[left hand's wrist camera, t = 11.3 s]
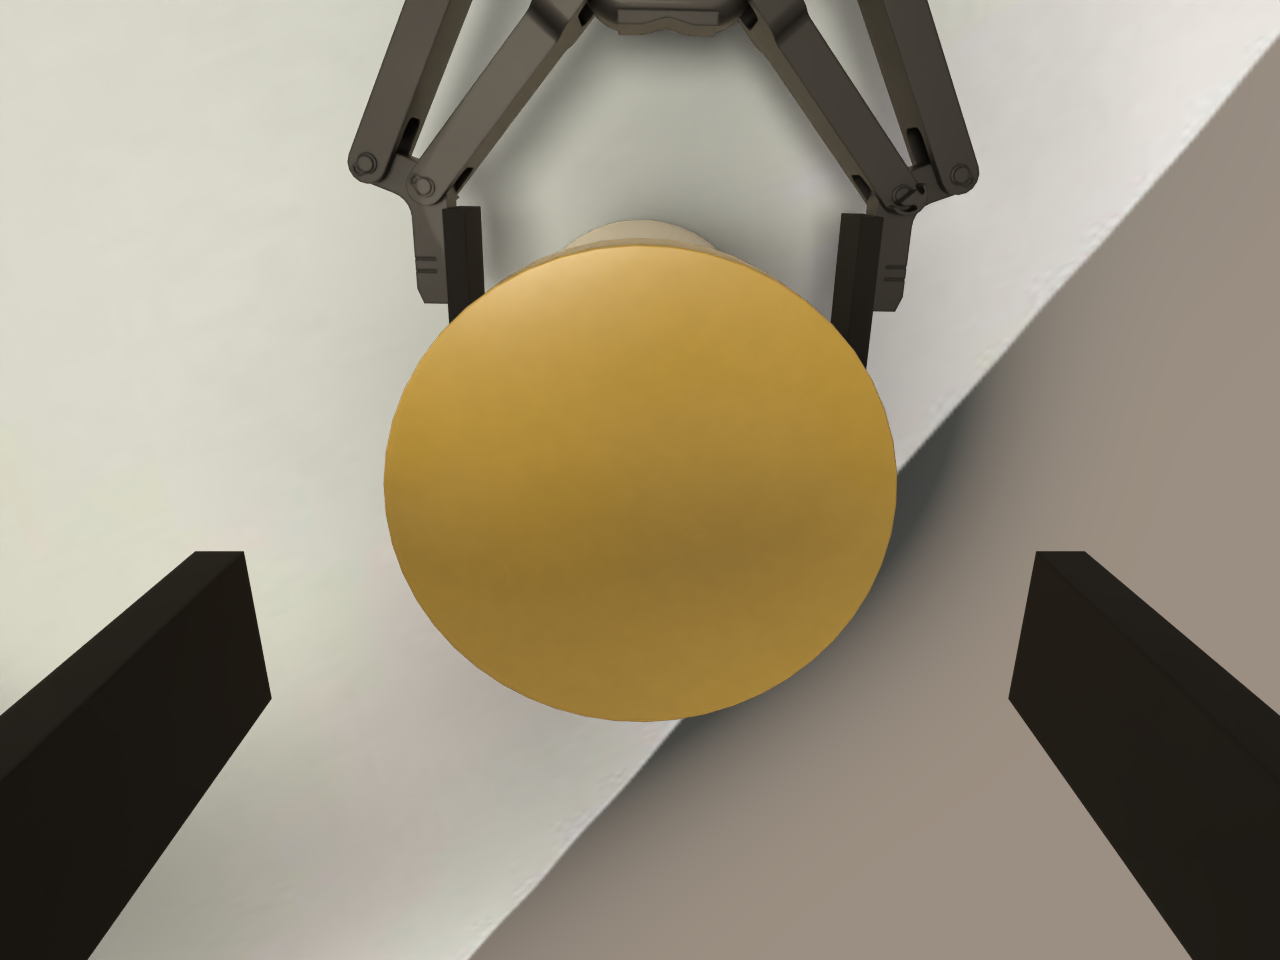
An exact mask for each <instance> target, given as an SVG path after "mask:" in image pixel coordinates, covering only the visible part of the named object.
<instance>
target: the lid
mask: <svg viewBox="0 0 1280 960" xmlns="http://www.w3.org/2000/svg"><path fill="white" fill-rule="evenodd" d="M896 490H897V469H896V460H895V452H894V443H893V438H892V435H891V431H890V427H889V423H888V420H887V416H886V412H885V409H884V407H883V404H882V402H881V400H880V397H879V395H878V393H877V390H876V388H875V386H874V383H873V381H872V379H871V377H870V376H869V374H868V372H867V371H866V369H865V367H864V366H863V364H862V363H861V361H860V359H859V358H858V356H857V354H856V353H855V351H854V350H853V349H852V347H851V346H850V345H849V344H848V343H847V341H846V340H845V339H844V338H843V337H842V335H841V334H840V333H839V332H838V330H837V329H836V328H835V327H834V326H833V324H831V323H830V322H829V321H828V320H827V319H826V318H825V317H824V316H823V315H822V314H820V313H819V312H818V311H817V310H816V309H815V308H814V307H813V306H812V305H811V304H809V303H808V302H807V301H806V300H805V299H803V298H802V297H801V296H799V295H798V294H797V293H795V292H794V291H793V290H791V289H790V288H789V287H787V286H786V285H784V284H783V283H781V282H780V281H778V280H777V279H775V278H774V277H772V276H771V275H769V274H768V273H766V272H765V271H763V270H761V269H759V268H757V267H755V266H753V265H751V264H749V263H747V262H745V261H743V260H741V259H739V258H737V257H735V256H733V255H730V254H727V253H724V252H721V251H718V250H715V249H712V248H709V247H705V246H702V245H697V244H692V243H687V242H681V241H676V240H670V239H654V238H625V239H614V240H603V241H598V242H593V243H589V244H585V245H580V246H576V247H572V248H568V249H565V250H563V251H560V252H557V253H555V254H552V255H549V256H547V257H544V258H541V259H539V260H537V261H535V262H533V263H531V264H529V265H527V266H526V267H524V268H522V269H520V270H518V271H516V272H515V273H513V274H511V275H509V276H508V277H506V278H505V279H504V280H502V281H501V282H500V283H498V284H497V285H496V286H494V287H493V288H492V289H490V290H489V291H488V292H486V293H485V294H484V295H482V296H481V297H480V298H478V299H477V300H476V301H474V302H473V303H472V304H470V305H469V306H468V307H466V308H465V309H464V310H463V311H462V312H461V313H460V314H459V315H458V316H457V317H456V318H455V319H454V320H453V321H452V322H451V323H450V324H449V325H448V326H447V327H446V328H445V329H444V330H443V331H442V332H441V333H440V334H439V336H438V337H437V338H436V340H435V341H434V342H433V344H432V345H431V346H430V348H429V349H428V350H427V352H426V353H425V354H424V356H423V357H422V358H421V360H420V361H419V363H418V365H417V367H416V369H415V371H414V372H413V374H412V376H411V378H410V380H409V381H408V383H407V385H406V387H405V389H404V391H403V394H402V396H401V399H400V402H399V404H398V407H397V410H396V412H395V415H394V418H393V421H392V425H391V430H390V435H389V439H388V444H387V448H386V456H385V471H384V495H385V510H386V517H387V522H388V527H389V531H390V536H391V541H392V545H393V548H394V551H395V553H396V556H397V559H398V562H399V564H400V567H401V570H402V573H403V575H404V577H405V579H406V581H407V583H408V585H409V586H410V588H411V590H412V592H413V594H414V596H415V598H416V600H417V601H418V603H419V604H420V606H421V607H422V609H423V610H424V612H425V613H426V614H427V616H428V617H429V619H430V620H431V622H432V623H433V624H434V626H435V627H436V628H437V629H438V630H439V631H440V632H441V633H442V635H443V636H444V637H445V638H446V639H447V640H448V641H449V642H450V643H451V645H452V646H453V647H454V648H455V649H456V650H458V651H459V652H460V653H461V654H462V655H463V656H464V657H466V658H467V659H468V660H469V661H470V662H471V663H473V664H474V665H475V666H476V667H477V668H479V669H480V670H482V671H483V672H485V673H486V674H488V675H489V676H490V677H492V678H493V679H495V680H496V681H498V682H499V683H501V684H502V685H504V686H506V687H508V688H510V689H512V690H514V691H516V692H518V693H520V694H522V695H524V696H525V697H527V698H530V699H532V700H535V701H537V702H540V703H543V704H545V705H548V706H550V707H553V708H556V709H559V710H563V711H567V712H571V713H574V714H578V715H582V716H586V717H593V718H600V719H606V720H613V721H635V722H650V721H664V720H676V719H682V718H687V717H693V716H698V715H703V714H707V713H711V712H714V711H717V710H721V709H724V708H727V707H731V706H734V705H736V704H739V703H741V702H743V701H745V700H748V699H750V698H753V697H755V696H757V695H760V694H762V693H763V692H765V691H767V690H769V689H771V688H772V687H774V686H776V685H778V684H779V683H781V682H783V681H785V680H786V679H788V678H789V677H791V676H792V675H793V674H795V673H796V672H797V671H799V670H800V669H802V668H803V667H804V666H806V665H807V664H808V663H810V662H811V661H812V660H813V659H814V658H815V657H816V656H817V655H819V654H820V653H821V652H822V651H823V650H824V649H825V648H826V647H827V646H828V645H829V644H830V643H831V642H832V641H833V640H834V639H835V638H836V637H837V636H838V634H839V633H840V632H841V631H842V630H843V628H844V627H845V626H846V625H847V624H848V622H849V621H850V620H851V619H852V618H853V616H854V615H855V613H856V611H857V610H858V608H859V607H860V605H861V603H862V602H863V600H864V599H865V597H866V596H867V594H868V593H869V591H870V588H871V586H872V584H873V582H874V580H875V578H876V576H877V573H878V571H879V569H880V567H881V565H882V562H883V559H884V556H885V552H886V549H887V546H888V543H889V540H890V536H891V532H892V526H893V520H894V514H895V508H896Z"/></svg>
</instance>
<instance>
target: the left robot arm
mask: <svg viewBox="0 0 1280 960" xmlns="http://www.w3.org/2000/svg"><path fill="white" fill-rule="evenodd" d="M271 699H272V698H271V693H270V687H269V682H268V677H267V672H266V666H265V661H264V656H263V650H262V645H261V640H260V634H259V629H258V624H257V619H256V613H255V608H254V603H253V597H252V592H251V587H250V582H249V576H248V571H247V566H246V560H245V555H244V551H195V552H194V553H193V554H192V555H190V556H189V557H188V558H187V559H186V560H184V561H183V562H182V563H181V564H180V565H178V566H177V567H176V568H175V569H174V570H173V571H171V572H170V573H169V574H168V575H167V576H165V577H164V578H163V579H162V580H161V581H159V582H158V583H157V584H156V585H155V586H154V587H152V588H151V589H150V590H149V591H148V592H146V593H145V594H144V595H143V596H142V597H140V598H139V599H138V600H137V601H136V602H135V603H133V604H132V605H131V606H130V607H129V608H127V609H126V610H125V611H124V612H123V613H122V614H120V615H119V616H118V617H117V618H116V619H114V620H113V621H112V622H111V623H110V624H108V625H107V626H106V627H105V628H104V629H103V630H101V631H100V632H99V633H98V634H97V635H95V636H94V637H93V638H92V639H91V640H89V641H88V642H87V643H86V644H85V645H84V646H82V647H81V648H80V649H79V650H78V651H76V652H75V653H74V654H73V655H72V656H70V657H69V658H68V659H67V660H66V661H65V662H63V663H62V664H61V665H60V666H59V667H57V668H56V669H55V670H54V671H53V672H52V673H50V674H49V675H48V676H47V677H46V678H44V679H43V680H42V681H41V682H40V683H38V684H37V685H36V686H35V687H34V688H33V689H31V690H30V691H29V692H28V693H27V694H25V695H24V696H23V697H22V698H21V699H19V700H18V701H17V702H16V703H15V704H14V705H12V706H11V707H10V708H9V709H8V710H6V711H5V712H4V713H3V714H2V715H0V960H88V958H89V957H90V955H91V954H92V953H93V951H94V950H95V948H96V947H97V945H98V944H99V943H100V941H101V940H102V938H103V937H104V936H105V934H106V933H107V931H108V930H109V928H110V927H111V926H112V924H113V923H114V921H115V920H116V919H117V917H118V916H119V914H120V913H121V911H122V910H123V909H124V907H125V906H126V904H127V903H128V902H129V900H130V899H131V897H132V896H133V894H134V893H135V892H136V890H137V889H138V887H139V886H140V885H141V883H142V882H143V880H144V879H145V877H146V876H147V875H148V873H149V872H150V870H151V869H152V868H153V866H154V865H155V863H156V862H157V860H158V859H159V858H160V856H161V855H162V853H163V852H164V851H165V849H166V848H167V846H168V845H169V843H170V842H171V841H172V839H173V838H174V836H175V835H176V834H177V832H178V831H179V829H180V828H181V826H182V825H183V824H184V822H185V821H186V819H187V818H188V817H189V815H190V814H191V812H192V811H193V809H194V808H195V807H196V805H197V804H198V802H199V801H200V799H201V798H202V797H203V795H204V794H205V792H206V791H207V790H208V788H209V787H210V785H211V784H212V782H213V781H214V780H215V778H216V777H217V775H218V774H219V773H220V771H221V770H222V768H223V767H224V765H225V764H226V763H227V761H228V760H229V758H230V757H231V756H232V754H233V753H234V751H235V750H236V748H237V747H238V746H239V744H240V743H241V741H242V740H243V739H244V737H245V736H246V734H247V733H248V731H249V730H250V729H251V727H252V726H253V724H254V723H255V722H256V720H257V719H258V717H259V716H260V714H261V713H262V712H263V710H264V709H265V707H266V706H267V705H268V703H269V702H270V700H271ZM1008 699H1009V700H1010V702H1011V703H1012V704H1013V706H1014V707H1015V709H1016V710H1017V712H1018V713H1019V714H1020V716H1021V717H1022V719H1023V720H1024V722H1025V723H1026V724H1027V726H1028V727H1029V729H1030V730H1031V731H1032V733H1033V734H1034V736H1035V737H1036V739H1037V740H1038V741H1039V743H1040V744H1041V745H1042V747H1043V748H1044V750H1045V751H1046V753H1047V754H1048V756H1049V757H1050V758H1051V760H1052V761H1053V763H1054V764H1055V765H1056V767H1057V768H1058V770H1059V771H1060V773H1061V774H1062V775H1063V777H1064V778H1065V780H1066V781H1067V782H1068V784H1069V785H1070V787H1071V788H1072V790H1073V791H1074V792H1075V794H1076V795H1077V797H1078V798H1079V799H1080V801H1081V802H1082V804H1083V805H1084V807H1085V808H1086V809H1087V811H1088V812H1089V814H1090V815H1091V817H1092V818H1093V819H1094V821H1095V822H1096V824H1097V825H1098V826H1099V828H1100V829H1101V831H1102V832H1103V834H1104V835H1105V836H1106V838H1107V839H1108V841H1109V842H1110V843H1111V845H1112V846H1113V848H1114V849H1115V850H1116V852H1117V853H1118V855H1119V856H1120V858H1121V859H1122V860H1123V862H1124V863H1125V865H1126V866H1127V868H1128V869H1129V870H1130V872H1131V873H1132V875H1133V876H1134V877H1135V879H1136V880H1137V882H1138V883H1139V885H1140V886H1141V887H1142V889H1143V890H1144V892H1145V893H1146V894H1147V896H1148V897H1149V899H1150V900H1151V902H1152V903H1153V904H1154V906H1155V907H1156V909H1157V910H1158V911H1159V913H1160V914H1161V916H1162V917H1163V919H1164V920H1165V921H1166V923H1167V924H1168V926H1169V927H1170V928H1171V930H1172V931H1173V933H1174V934H1175V936H1176V937H1177V938H1178V940H1179V941H1180V943H1181V944H1182V945H1183V947H1184V948H1185V950H1186V951H1187V953H1188V954H1189V955H1190V957H1191V958H1192V960H1280V715H1278V714H1277V713H1276V712H1275V711H1274V710H1272V709H1271V708H1270V707H1269V706H1268V705H1266V704H1265V703H1264V702H1263V701H1262V700H1260V699H1259V698H1258V697H1257V696H1256V695H1255V694H1253V693H1252V692H1251V691H1250V690H1249V689H1247V688H1246V687H1245V686H1244V685H1243V684H1242V683H1240V682H1239V681H1238V680H1237V679H1236V678H1234V677H1233V676H1232V675H1231V674H1230V673H1228V672H1227V671H1226V670H1225V669H1224V668H1223V667H1221V666H1220V665H1219V664H1218V663H1217V662H1215V661H1214V660H1213V659H1212V658H1211V657H1210V656H1208V655H1207V654H1206V653H1205V652H1204V651H1202V650H1201V649H1200V648H1199V647H1198V646H1196V645H1195V644H1194V643H1193V642H1192V641H1191V640H1189V639H1188V638H1187V637H1186V636H1185V635H1183V634H1182V633H1181V632H1180V631H1179V630H1177V629H1176V628H1175V627H1174V626H1173V625H1172V624H1170V623H1169V622H1168V621H1167V620H1166V619H1164V618H1163V617H1162V616H1161V615H1160V614H1158V613H1157V612H1156V611H1155V610H1154V609H1153V608H1151V607H1150V606H1149V605H1148V604H1147V603H1145V602H1144V601H1143V600H1142V599H1141V598H1140V597H1138V596H1137V595H1136V594H1135V593H1134V592H1132V591H1131V590H1130V589H1129V588H1128V587H1126V586H1125V585H1124V584H1123V583H1122V582H1121V581H1119V580H1118V579H1117V578H1116V577H1115V576H1113V575H1112V574H1111V573H1110V572H1109V571H1107V570H1106V569H1105V568H1104V567H1103V566H1102V565H1100V564H1099V563H1098V562H1097V561H1096V560H1094V559H1093V558H1092V557H1091V556H1090V555H1088V554H1087V553H1086V552H1085V551H1037V552H1036V555H1035V561H1034V566H1033V571H1032V576H1031V582H1030V587H1029V592H1028V597H1027V603H1026V608H1025V613H1024V619H1023V624H1022V629H1021V635H1020V640H1019V645H1018V650H1017V656H1016V661H1015V666H1014V671H1013V677H1012V682H1011V687H1010V693H1009V698H1008Z"/></svg>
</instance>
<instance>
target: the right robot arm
mask: <svg viewBox="0 0 1280 960" xmlns="http://www.w3.org/2000/svg"><path fill="white" fill-rule="evenodd" d="M471 2H472V0H405V3H404V5H403V8H402V11H401V13H400V16H399V19H398V22H397V24H396V27H395V30H394V32H393V35H392V38H391V41H390V43H389V46H388V49H387V52H386V54H385V57H384V60H383V62H382V65H381V68H380V71H379V73H378V76H377V79H376V81H375V84H374V87H373V90H372V92H371V95H370V98H369V100H368V103H367V106H366V109H365V111H364V114H363V117H362V120H361V122H360V125H359V128H358V130H357V133H356V136H355V139H354V141H353V144H352V147H351V149H350V152H349V156H348V166H349V170H350V172H351V173H352V175H353V176H354V177H355V178H356V179H357V180H359V181H360V182H363V183H367V184H373V185H375V186H378V187H380V188H383V189H385V190H388V191H390V192H393V193H395V194H397V195H399V196H400V197H401V198H403V199H404V200H405V202H406V203H407V204H408V206H409V208H410V210H411V215H412V224H413V237H414V250H415V258H416V260H415V263H416V276H417V288H418V291H419V293H420V295H421V297H422V299H423V301H424V303H438V304H448V312H449V324H450V323H451V322H452V321H453V320H454V319H455V318H456V317H457V316H458V315H459V314H460V313H461V312H462V311H463V310H464V309H465V308H466V307H468V306H469V305H470V304H472V303H473V302H474V301H476V300H477V299H478V298H480V297H481V296H482V295H484V294H485V291H484V270H483V250H482V229H481V208H480V206H457V207H456V200H457V199H458V198H459V196H458V195H457V194H458V193H459V192H460V190H461V189H462V188H463V186H464V185H465V184H466V182H467V181H468V180H469V178H470V177H471V176H472V174H473V173H474V172H475V170H476V169H477V168H478V167H479V165H480V164H481V163H482V161H483V160H484V159H485V157H486V156H487V155H488V153H489V152H490V151H491V149H492V148H493V147H494V145H495V144H496V143H497V141H498V140H499V139H500V137H501V136H502V135H503V133H504V132H505V131H506V129H507V128H508V127H509V125H510V124H511V123H512V121H513V120H514V119H515V117H516V116H517V115H518V113H519V112H520V111H521V110H522V108H523V107H524V106H525V104H526V103H527V102H528V100H529V99H530V98H531V96H532V95H533V94H534V92H535V91H536V90H537V88H538V87H539V86H540V84H541V83H542V82H543V80H544V79H545V78H546V76H547V75H548V74H549V72H550V71H551V70H552V68H553V67H554V66H555V64H556V63H557V62H558V60H559V59H560V58H561V56H562V55H563V54H564V53H565V51H566V50H567V49H568V48H570V47H571V46H572V45H573V44H574V43H575V42H576V40H577V39H578V38H579V36H580V35H581V34H582V33H583V31H584V30H585V29H586V27H587V26H588V25H589V23H590V22H591V21H592V19H593V18H594V17H595V16H596V17H597V18H598V19H599V20H600V21H601V22H602V23H603V24H605V25H606V26H608V27H610V28H612V29H614V30H617V31H619V35H644V34H647V33H651V32H655V31H658V30H662V29H670V30H673V31H676V32H679V33H682V34H685V35H689V36H714V34H715V33H716V32H719V31H722V30H724V29H726V28H728V27H729V26H731V25H732V24H733V23H735V22H736V21H737V20H738V21H739V23H740V24H741V26H742V27H743V29H744V30H745V32H746V33H747V35H748V36H749V37H750V39H751V40H752V42H753V43H754V45H755V46H756V47H757V48H758V49H759V50H760V51H761V52H762V53H763V54H764V55H765V56H766V57H767V59H768V60H769V62H770V63H771V65H772V66H773V67H774V69H775V70H776V72H777V73H778V75H779V76H780V78H781V79H782V81H783V82H784V84H785V85H786V87H787V88H788V89H789V91H790V92H791V94H792V95H793V97H794V98H795V100H796V101H797V103H798V104H799V106H800V107H801V109H802V110H803V112H804V113H805V114H806V116H807V117H808V119H809V120H810V122H811V123H812V125H813V126H814V128H815V129H816V131H817V132H818V134H819V135H820V137H821V138H822V139H823V141H824V142H825V144H826V145H827V147H828V148H829V150H830V151H831V153H832V154H833V156H834V157H835V159H836V160H837V161H838V163H839V164H840V166H841V167H842V169H843V170H844V172H845V173H846V175H847V176H848V178H849V179H850V181H851V182H852V184H853V185H854V186H855V188H856V189H857V191H858V192H859V194H860V195H861V197H862V198H863V200H864V201H865V203H866V204H867V210H866V214H851V213H842V215H841V225H840V235H839V245H838V255H837V265H836V275H835V285H834V295H833V305H832V315H831V324H833V326H834V327H835V328H836V329H837V330H838V332H839V333H840V334H841V335H842V337H843V338H844V339H845V340H846V341H847V343H848V344H849V345H850V346H851V347H852V349H853V350H854V351H855V353H856V354H857V356H858V358H859V359H860V361H861V363H862V364H863V366H864V367H865V369H866V366H867V358H868V349H869V341H870V332H871V324H872V315H873V311H886V312H895V311H896V309H897V307H898V305H899V303H900V301H901V299H902V297H903V290H904V283H905V281H904V279H905V275H906V266H907V260H908V252H909V244H910V236H911V229H912V224H913V220H914V218H915V216H916V214H917V213H918V212H920V211H921V210H922V209H923V208H924V206H926V205H928V204H930V203H933V202H936V201H938V200H941V199H944V198H947V197H950V196H953V195H960V194H964V193H967V192H968V191H970V190H971V189H972V188H973V187H974V186H975V184H976V183H977V180H978V177H979V167H978V163H977V160H976V157H975V154H974V150H973V147H972V144H971V141H970V137H969V134H968V131H967V128H966V124H965V121H964V118H963V115H962V111H961V108H960V105H959V102H958V98H957V95H956V92H955V89H954V86H953V82H952V79H951V76H950V73H949V69H948V66H947V63H946V60H945V56H944V53H943V50H942V47H941V43H940V40H939V37H938V34H937V30H936V27H935V24H934V21H933V17H932V14H931V11H930V8H929V4H928V1H927V0H858V3H859V6H860V9H861V12H862V15H863V18H864V21H865V24H866V27H867V30H868V33H869V36H870V39H871V42H872V45H873V48H874V51H875V54H876V57H877V60H878V63H879V66H880V69H881V72H882V75H883V78H884V81H885V84H886V87H887V90H888V93H889V96H890V99H891V102H892V105H893V108H894V111H895V114H896V117H897V120H898V123H899V126H900V129H901V132H902V135H903V138H904V141H905V144H906V147H907V150H908V153H909V156H910V159H911V162H912V165H913V166H911V167H907V165H906V164H905V162H904V161H903V159H902V158H901V156H900V155H899V153H898V152H897V150H896V148H895V147H894V145H893V144H892V142H891V141H890V139H889V138H888V136H887V135H886V133H885V132H884V130H883V129H882V127H881V126H880V124H879V122H878V121H877V119H876V118H875V116H874V115H873V113H872V112H871V110H870V109H869V107H868V106H867V104H866V103H865V101H864V100H863V98H862V96H861V95H860V93H859V92H858V90H857V89H856V87H855V86H854V84H853V83H852V81H851V80H850V78H849V77H848V75H847V74H846V72H845V70H844V69H843V67H842V66H841V64H840V63H839V61H838V60H837V58H836V57H835V55H834V54H833V52H832V51H831V49H830V48H829V46H828V45H827V43H826V41H825V40H824V38H823V37H822V35H821V34H820V32H819V31H818V29H817V28H816V26H815V25H814V23H813V22H812V20H811V18H810V17H809V14H808V12H807V8H806V5H805V2H804V0H532V1H531V4H530V6H529V8H528V10H527V12H526V13H525V15H524V16H523V17H522V19H521V20H520V22H519V23H518V24H517V26H516V27H515V28H514V30H513V31H512V33H511V34H510V35H509V37H508V38H507V39H506V41H505V42H504V44H503V45H502V46H501V48H500V49H499V50H498V52H497V53H496V55H495V56H494V57H493V59H492V60H491V61H490V63H489V64H488V66H487V67H486V68H485V70H484V71H483V72H482V74H481V75H480V77H479V78H478V79H477V81H476V82H475V83H474V85H473V86H472V88H471V89H470V90H469V92H468V93H467V94H466V96H465V97H464V99H463V100H462V101H461V103H460V104H459V105H458V107H457V108H456V109H455V111H454V112H453V114H452V115H451V116H450V118H449V119H448V120H447V122H446V123H445V125H444V126H443V127H442V129H441V130H440V131H439V133H438V134H437V136H436V137H435V138H434V140H433V141H432V142H431V144H430V145H429V147H428V148H427V149H426V151H425V152H424V153H423V155H422V156H421V158H420V159H418V158H415V157H413V156H411V155H412V153H413V150H414V148H415V145H416V142H417V140H418V137H419V135H420V132H421V130H422V127H423V125H424V122H425V120H426V117H427V114H428V112H429V109H430V107H431V104H432V102H433V99H434V97H435V94H436V92H437V89H438V86H439V84H440V81H441V79H442V76H443V74H444V71H445V69H446V66H447V64H448V61H449V58H450V56H451V53H452V51H453V48H454V46H455V43H456V41H457V38H458V36H459V33H460V30H461V28H462V25H463V23H464V20H465V18H466V15H467V13H468V10H469V8H470V5H471Z"/></svg>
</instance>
